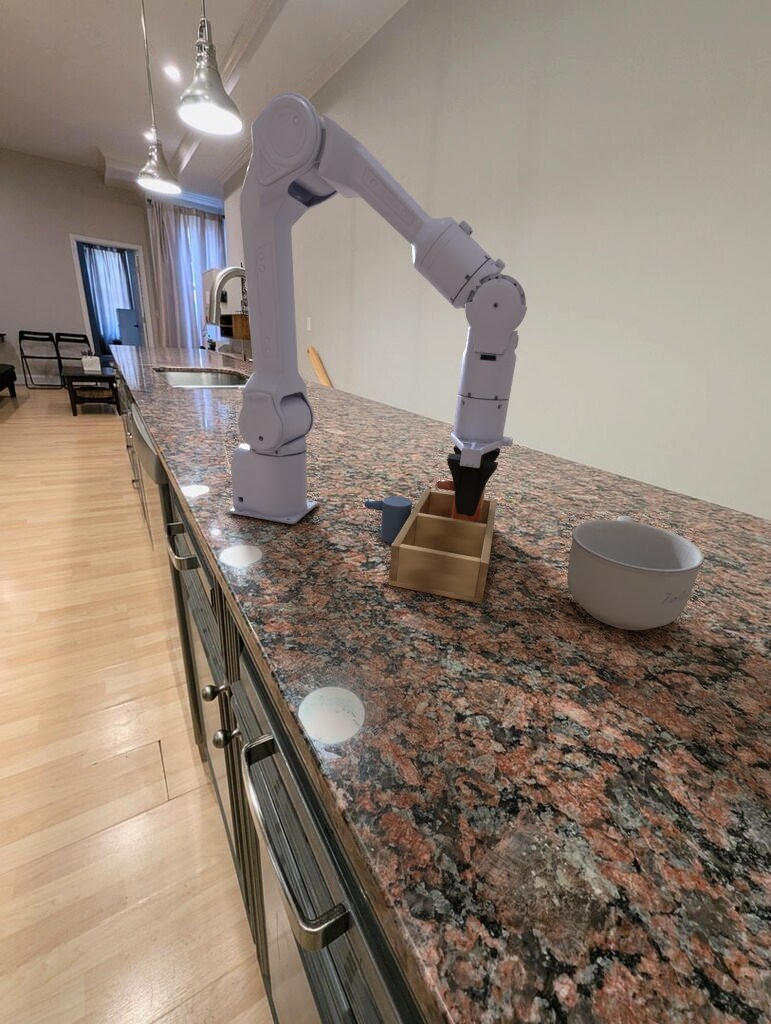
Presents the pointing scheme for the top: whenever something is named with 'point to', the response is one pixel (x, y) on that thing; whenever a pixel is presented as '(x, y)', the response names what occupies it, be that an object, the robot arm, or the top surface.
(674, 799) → the top surface
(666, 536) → the teacup
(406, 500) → the blue scoop
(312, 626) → the top surface
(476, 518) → the terracotta scoop
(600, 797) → the top surface
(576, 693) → the top surface
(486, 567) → the caddy
